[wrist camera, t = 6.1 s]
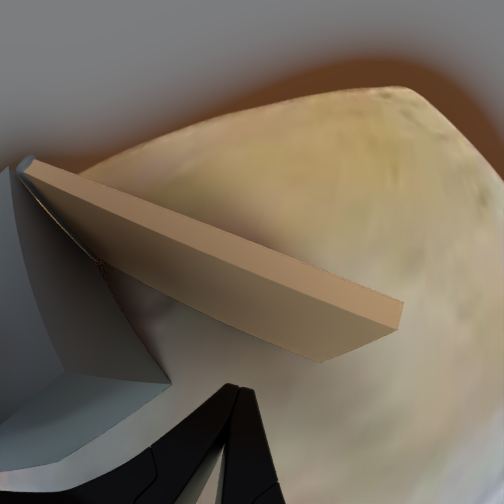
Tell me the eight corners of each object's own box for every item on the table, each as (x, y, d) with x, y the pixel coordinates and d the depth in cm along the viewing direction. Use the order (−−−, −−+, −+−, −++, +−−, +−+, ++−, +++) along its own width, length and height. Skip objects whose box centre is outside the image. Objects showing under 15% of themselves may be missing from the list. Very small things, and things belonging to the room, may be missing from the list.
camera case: (172, 384, 14) (50, 368, 5) (57, 461, 11) (-64, 474, 1) (88, 249, 18) (2, 146, 8) (-1, 330, 15) (-98, 277, 5)
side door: (329, 339, 15) (407, 282, 7) (319, 366, 14) (395, 337, 6) (99, 236, 18) (33, 147, 10) (87, 254, 17) (12, 171, 9)
